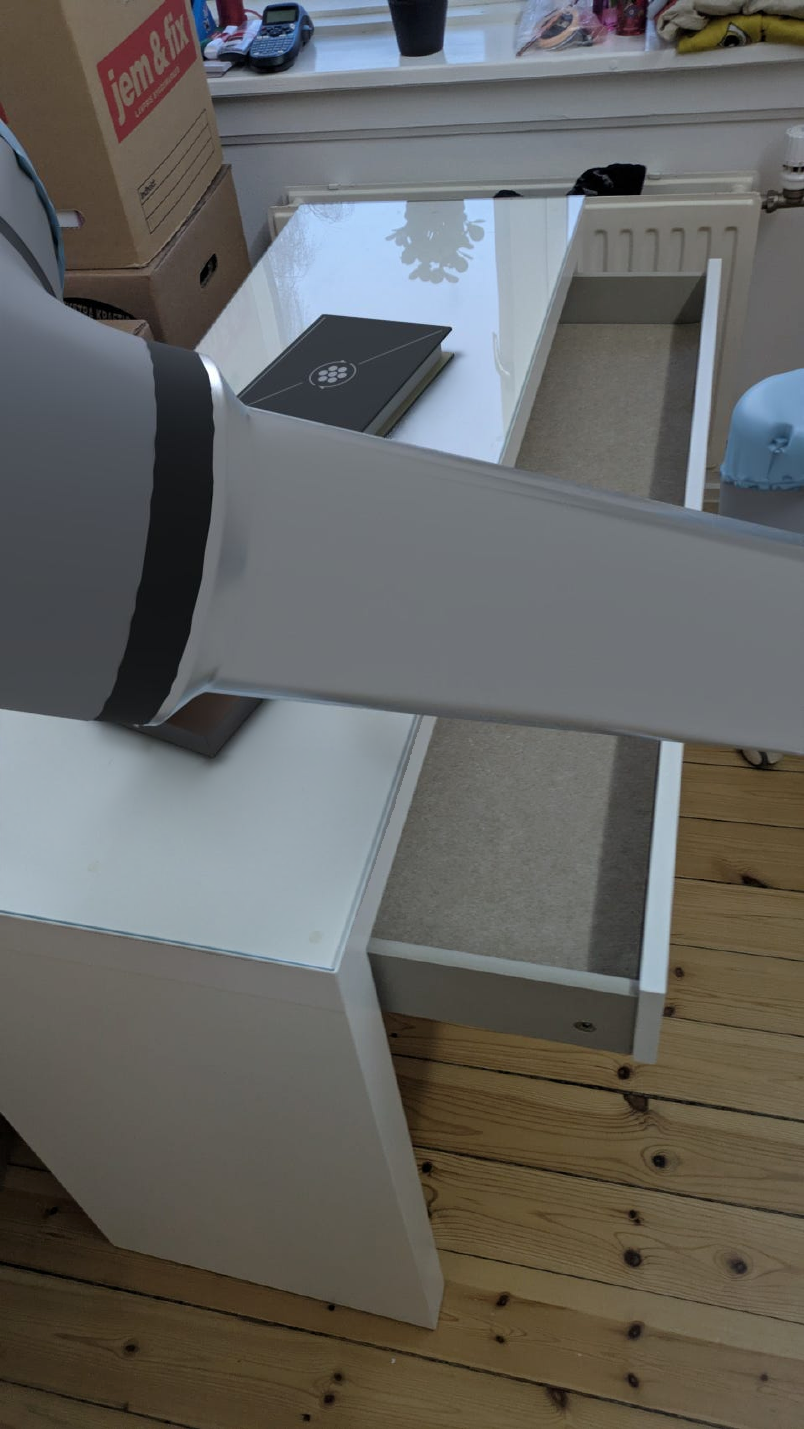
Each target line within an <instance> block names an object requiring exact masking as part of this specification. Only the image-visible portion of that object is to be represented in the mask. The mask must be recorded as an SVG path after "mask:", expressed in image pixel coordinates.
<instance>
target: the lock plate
mask: <svg viewBox="0 0 804 1429" xmlns="http://www.w3.org/2000/svg"><path fill="white" fill-rule="evenodd" d="M263 700H264V698H257V697H248V696H239V695H229V694H220V693H211V692H204V693H202V694H200V695H198V696H196V697H194V698H192V699H191V700H190V701H189V702H187V703H186V704H185V705H184V706H182V707H181V708H180V709H179V710H178V711H176V712H175V713H174V714H173V715H171V716H170V717H169V718H168V719H167V720H165V721H164V722H163V723H162V724H159V725H157V726H141V725H134V724H123V723H117V724H118V725H121V726H123V727H126V728H130V729H132V730H134V731H137V732H140V733H143V734H146V735H149V736H152V737H155V738H158V739H160V740H163V741H166V742H169V743H171V744H174V745H177V746H180V747H183V748H185V749H188V750H191V751H194V752H196V753H200V754H203V755H205V756H208V757H211V758H214V757H215V756H216V754H217V753H218V752H219V751H221V749H222V748H223V746H224V745H225V744H226V743H227V742H228V741H229V739H231V737H232V736H233V735H234V734H235V732H236V731H237V730H238V729H239V728H240V727H241V725H242V724H244V722H245V721H246V720H247V719H248V717H249V716H250V715H251V714H252V713H253V712H254V710H255V709H256V708H257V707H258V706H259V704H260V703H261V702H262V701H263Z"/></svg>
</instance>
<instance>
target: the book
mask: <svg viewBox="0 0 804 1429" xmlns="http://www.w3.org/2000/svg"><path fill="white" fill-rule="evenodd" d="M452 331H453V327H452V326H449V325H438V324H430V323H429V324H428V323H420V322H419V323H418V322H408V321H398V320H390V319H389V320H387V319H379V318H371V317H369V318H368V317H359V316H349V315H338V314H329V313H322V314H320V316H318V317H317V318H316V320H314V321H313V322H312V324H310V325H309V326H308V327H307V328H306V329H305V330H304V331H303V332H302V333H301V334H300V335H299V336H297V337H296V338H295V339H294V341H293V342H291V343H290V344H289V345H288V346H286V348H285V349H284V350H283V351H282V352H280V354H279V355H277V356H276V357H275V358H274V359H273V360H272V361H271V362H270V363H269V364H268V365H267V366H266V367H264V369H263V370H262V371H261V372H259V374H258V375H256V376H255V377H254V378H253V379H252V380H251V381H250V382H249V383H247V385H246V386H245V387H244V388H243V389H241V391H240V392H239V393H237V395H236V397H237V398H238V399H239V400H240V401H241V402H242V403H243V404H244V405H245V406H249V407H253V408H257V409H262V410H266V411H270V412H275V413H279V414H283V415H288V416H292V417H296V418H301V419H305V420H309V421H314V422H318V423H322V424H327V425H331V426H335V427H340V428H344V429H348V430H353V431H357V432H361V433H366V434H370V435H374V436H378V437H383V438H387V436H388V435H389V434H390V432H392V430H393V429H394V428H395V426H396V425H397V424H398V423H399V422H400V421H401V419H402V418H404V416H405V415H406V414H407V412H408V411H409V410H410V409H411V408H412V407H413V405H414V404H415V403H416V402H417V401H418V399H419V398H420V397H421V396H422V395H423V393H425V391H426V390H427V389H428V387H429V386H430V385H431V384H432V383H433V382H434V380H436V378H437V377H438V375H440V373H441V372H442V371H443V370H444V368H445V367H446V366H447V365H448V364H449V362H450V361H451V360H452V359H453V358H454V357H455V353H454V352H449V351H443V350H442V343H443V341H444V340H446V338H447V337H448V336H449V334H451V332H452Z"/></svg>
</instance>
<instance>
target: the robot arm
mask: <svg viewBox="0 0 804 1429" xmlns="http://www.w3.org/2000/svg"><path fill="white" fill-rule="evenodd" d="M63 240H64V239H63V234H62V230H61V226H60V221H59V219H58V216H57V213H56V210H55V207H54V205H53V203H52V201H51V199H50V198H49V196H48V193H47V190H46V188H45V186H44V184H43V182H42V181H41V179H40V178H39V177H38V175H37V173H36V170H35V168H34V166H33V164H32V162H31V160H30V159H29V157H28V155H27V153H26V151H25V150H24V148H23V147H22V145H21V144H20V142H19V141H18V138H16V136H15V134H13V132H12V131H11V129H10V128H9V127H8V125H6V123H5V122H4V121H3V120H2V119H1V118H0V710H4V711H5V710H6V711H12V712H18V713H26V714H33V715H40V716H47V717H56V718H60V719H67V720H68V719H69V720H74V721H75V720H76V721H81V722H82V721H83V722H90V721H93V722H102V723H113V724H114V723H115V724H118V723H123V724H134V725H141V726H157V725H159V724H162V723H163V722H164V721H165V720H167V719H168V718H169V717H170V716H171V715H173V714H174V713H175V712H176V711H178V710H179V709H180V708H181V707H182V706H184V705H185V704H186V703H187V702H189V701H190V700H191V699H192V698H194V697H196V696H198V695H200V694H202V693H204V692H211V693H220V694H229V695H239V696H248V697H257V698H263V699H269V700H277V701H287V702H296V703H305V704H315V705H324V706H333V707H342V708H352V709H361V710H363V709H364V710H371V711H379V712H390V713H396V714H397V713H399V714H406V715H407V714H409V715H417V716H426V717H435V718H444V719H445V718H446V719H454V720H464V721H472V722H482V723H492V724H502V725H510V726H519V727H529V728H539V729H548V730H556V731H557V730H558V731H565V732H566V731H567V732H576V733H586V734H595V735H603V736H613V737H614V736H615V737H623V738H632V739H640V740H641V739H642V740H650V741H651V740H652V741H660V742H668V743H669V742H670V743H679V744H687V745H688V744H689V745H695V746H705V747H707V746H708V747H716V748H717V747H718V748H725V749H734V750H745V751H754V752H761V753H762V752H763V753H772V754H780V755H789V756H790V755H792V756H801V757H804V367H802V368H797V369H794V370H790V371H787V372H784V373H778V374H773V375H771V376H768V377H766V378H764V379H762V380H761V381H759V382H756V384H754V385H752V386H751V387H750V388H749V389H748V390H746V391H745V392H744V394H743V395H741V397H740V398H739V399H738V402H736V404H735V407H734V409H733V411H732V413H731V414H732V415H731V418H730V419H731V420H730V425H729V431H728V437H727V442H726V448H725V453H724V454H725V455H724V459H723V462H722V463H721V465H720V466H719V472H718V477H719V478H720V482H719V483H720V484H719V496H718V497H719V499H718V508H717V509H718V511H717V514H715V513H711V512H707V511H703V510H699V509H694V508H689V507H685V506H681V505H676V504H673V503H669V502H664V501H660V500H656V499H652V498H651V499H650V498H646V497H643V496H639V495H638V496H637V495H633V494H630V493H625V492H621V491H616V490H612V489H607V488H603V487H599V486H596V485H595V486H594V485H591V484H587V483H581V482H577V481H574V480H570V479H569V480H568V479H563V478H561V477H560V478H559V477H556V476H551V475H547V474H543V473H538V472H534V471H530V470H526V469H521V468H517V467H512V466H508V465H504V464H499V463H495V462H490V461H487V460H482V459H477V458H473V457H469V456H466V455H462V454H461V455H460V454H456V453H452V452H447V451H443V450H438V449H434V448H430V447H426V446H422V445H417V444H412V443H409V442H405V441H401V440H400V441H399V440H395V439H391V438H387V437H385V438H383V437H378V436H374V435H370V434H366V433H361V432H357V431H353V430H348V429H344V428H340V427H335V426H331V425H327V424H322V423H318V422H314V421H309V420H305V419H301V418H296V417H292V416H288V415H283V414H279V413H275V412H270V411H266V410H262V409H257V408H253V407H249V406H245V405H244V404H243V403H242V402H241V401H240V400H239V399H238V398H237V397H236V396H237V395H236V394H235V392H234V390H233V389H232V387H231V386H230V384H229V382H228V380H227V379H226V377H225V376H224V375H223V373H222V371H221V370H220V368H219V366H218V365H217V363H216V362H215V360H214V359H213V358H212V357H211V356H210V355H209V354H207V353H203V352H201V351H196V350H194V349H188V348H184V347H181V346H176V345H172V344H168V343H164V342H159V341H155V340H151V339H147V338H144V337H140V336H137V335H136V334H135V335H134V334H132V333H129V332H126V331H123V330H120V329H117V328H115V327H113V326H109V325H106V324H104V323H102V322H99V321H97V320H96V319H94V318H91V317H90V316H88V315H86V314H83V313H82V312H80V311H78V310H76V309H74V308H73V307H69V306H68V305H66V304H65V303H64V298H63V293H64V287H65V280H66V279H65V277H66V255H65V253H66V252H65V248H64V241H63Z"/></svg>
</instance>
